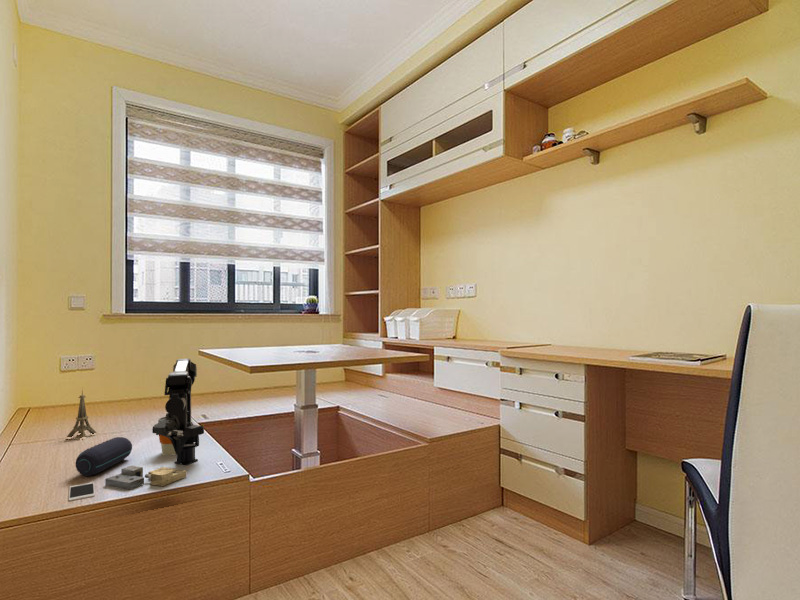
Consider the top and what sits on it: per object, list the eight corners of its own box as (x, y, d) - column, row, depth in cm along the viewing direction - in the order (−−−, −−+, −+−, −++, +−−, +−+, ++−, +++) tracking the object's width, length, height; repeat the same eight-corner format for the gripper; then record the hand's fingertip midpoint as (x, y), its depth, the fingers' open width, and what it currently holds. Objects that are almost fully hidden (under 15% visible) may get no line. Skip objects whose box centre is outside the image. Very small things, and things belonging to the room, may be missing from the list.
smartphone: (68, 502, 151) (68, 499, 151) (69, 488, 164) (69, 485, 164) (94, 497, 155) (94, 494, 155) (93, 484, 168) (93, 481, 168)
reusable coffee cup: (150, 454, 201) (151, 420, 202) (174, 447, 213) (174, 414, 214) (173, 457, 197) (173, 422, 198) (195, 449, 209) (195, 415, 209)
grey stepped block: (131, 476, 174) (131, 465, 174) (154, 480, 170) (154, 469, 170) (105, 485, 165) (105, 474, 165) (129, 489, 160) (129, 478, 160)
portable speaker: (111, 458, 197) (111, 434, 198) (135, 458, 197) (135, 434, 198) (69, 479, 172) (69, 452, 173) (96, 479, 172) (96, 451, 172)
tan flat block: (162, 472, 177) (162, 462, 177) (186, 476, 172) (186, 466, 173) (137, 482, 167) (137, 471, 167) (162, 486, 163) (162, 475, 163)
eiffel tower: (99, 434, 239) (99, 385, 240) (83, 440, 228) (83, 389, 229) (80, 434, 240) (80, 385, 241) (63, 439, 229) (64, 389, 230)
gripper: (138, 412, 160) (138, 457, 159) (179, 415, 153) (179, 463, 152) (166, 406, 170) (165, 449, 170) (205, 409, 163) (205, 454, 163)
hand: (178, 454), depth 163 cm, fingers closed
